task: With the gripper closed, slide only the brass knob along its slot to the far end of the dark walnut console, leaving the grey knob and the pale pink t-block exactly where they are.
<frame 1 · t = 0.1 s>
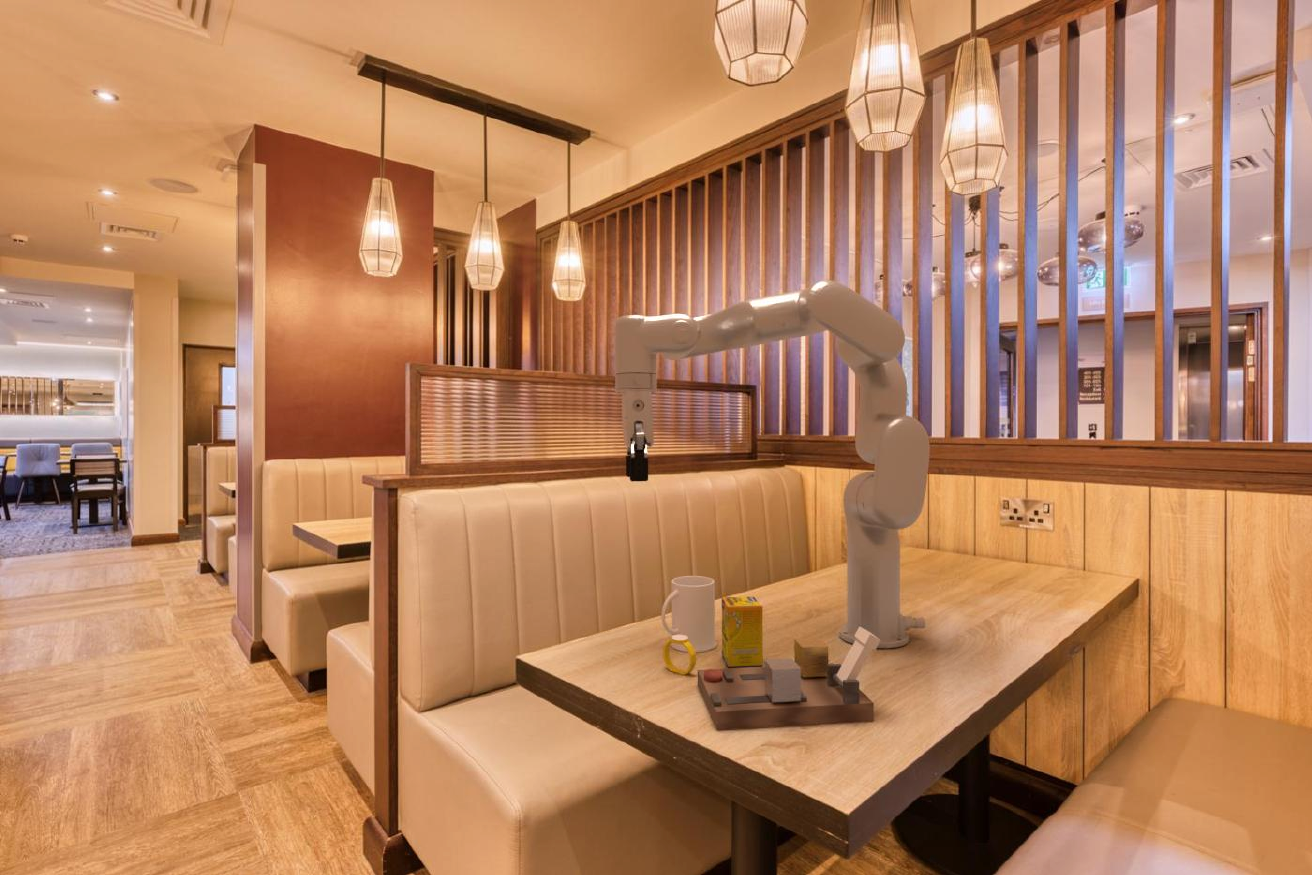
hand: (636, 478, 119), 31 cm above the table, fingers open, 9 cm apart
mug: (686, 647, 121), on the table
supplement box: (741, 665, 112), on the table
grey knob: (782, 679, 92), point 5 cm above the table, slide at 0.0 cm
console: (779, 702, 96), on the table
brass knob: (811, 657, 100), point 5 cm above the table, slide at 0.0 cm
watch: (679, 673, 108), on the table
pale pink t-block: (855, 659, 93), point 7 cm above the table, hinge at -30.0°
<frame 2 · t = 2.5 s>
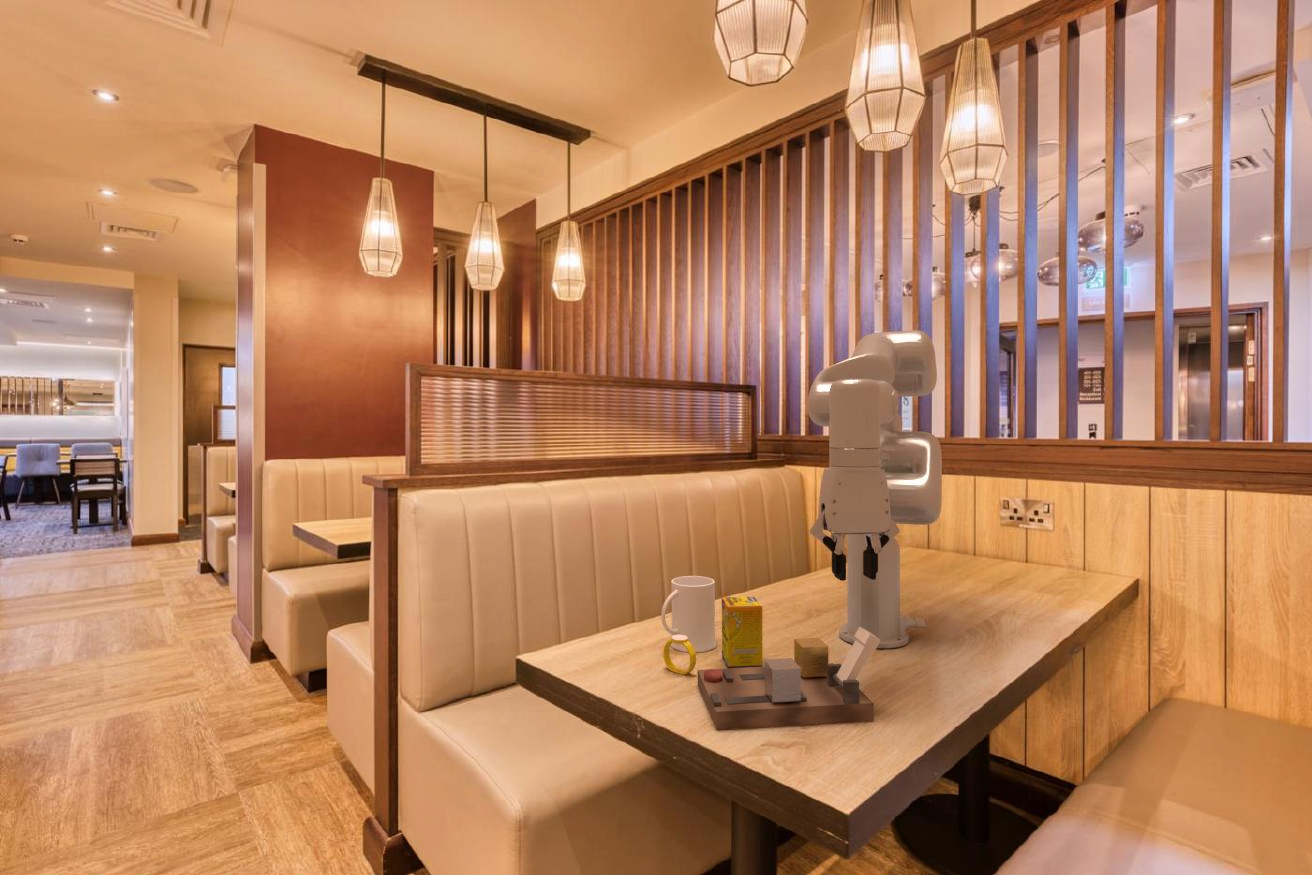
hand: (854, 576, 101), 17 cm above the table, fingers open, 4 cm apart
nothing on the table moved.
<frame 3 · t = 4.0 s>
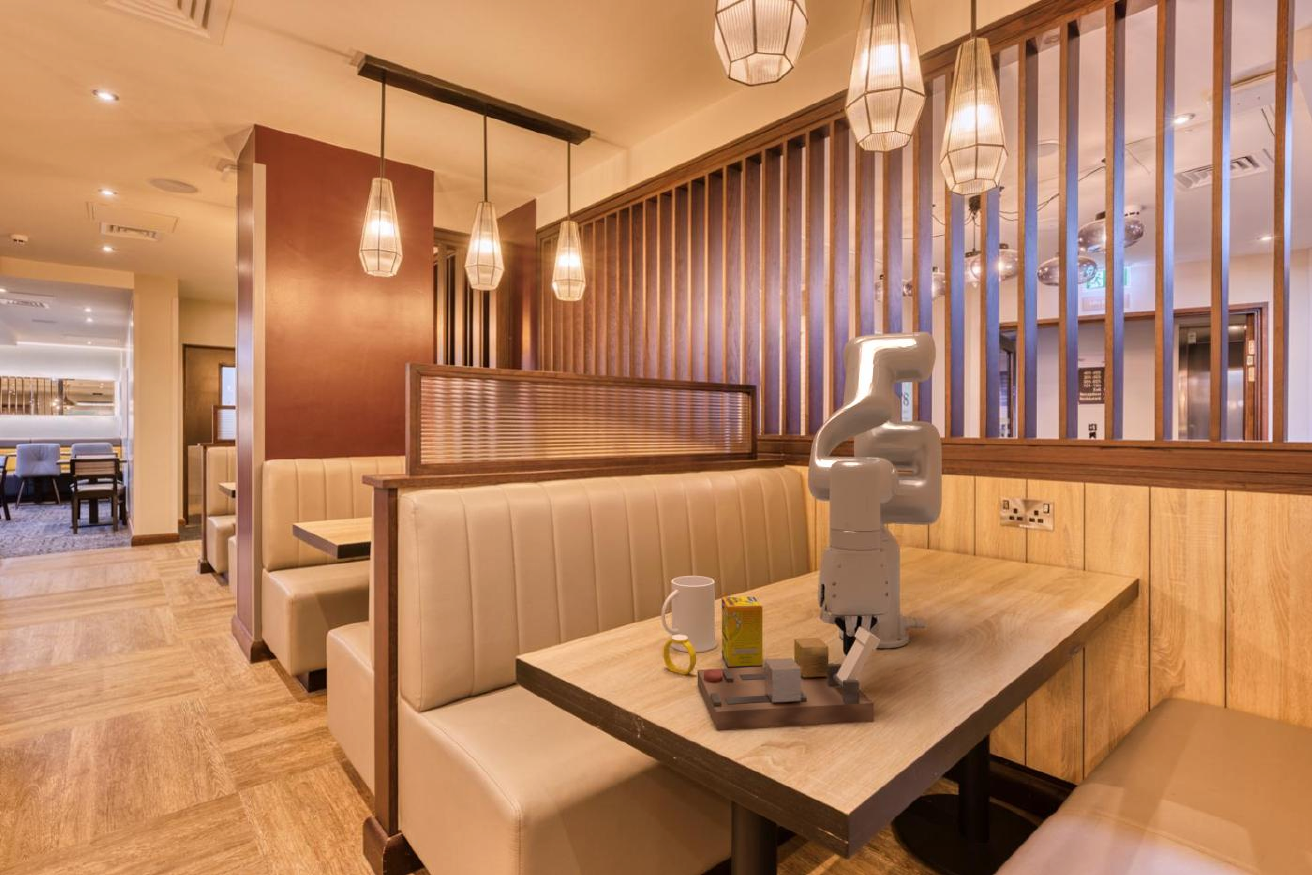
hand: (854, 659, 101), 5 cm above the table, fingers closed
nothing on the table moved.
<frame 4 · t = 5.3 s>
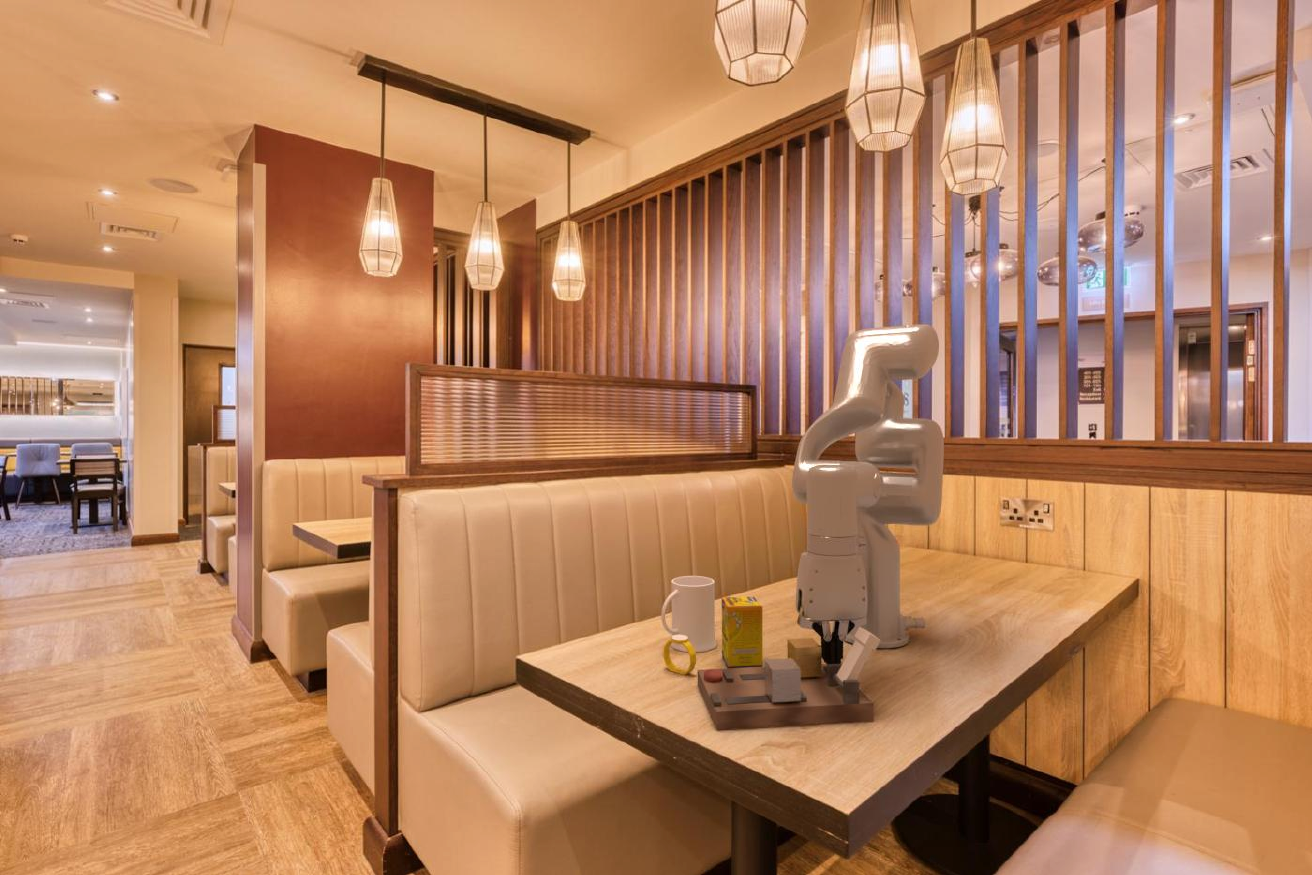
hand: (832, 663, 101), 4 cm above the table, fingers closed
brass knob: (804, 657, 100), point 5 cm above the table, slide at 1.1 cm, touching gripper
everything else where it was.
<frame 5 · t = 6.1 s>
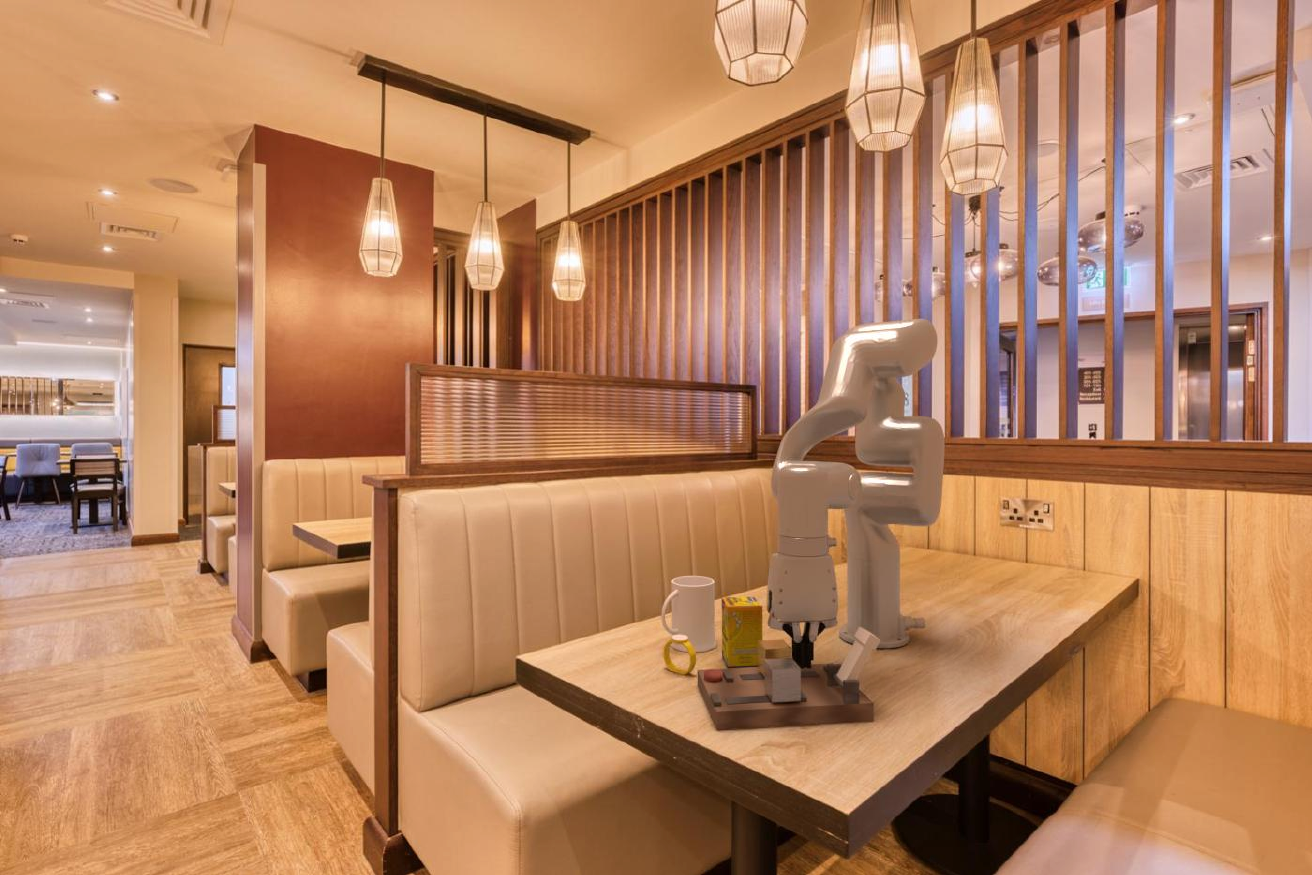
hand: (802, 665, 100), 4 cm above the table, fingers closed
brass knob: (774, 658, 100), point 5 cm above the table, slide at 5.8 cm, touching gripper
everything else where it was.
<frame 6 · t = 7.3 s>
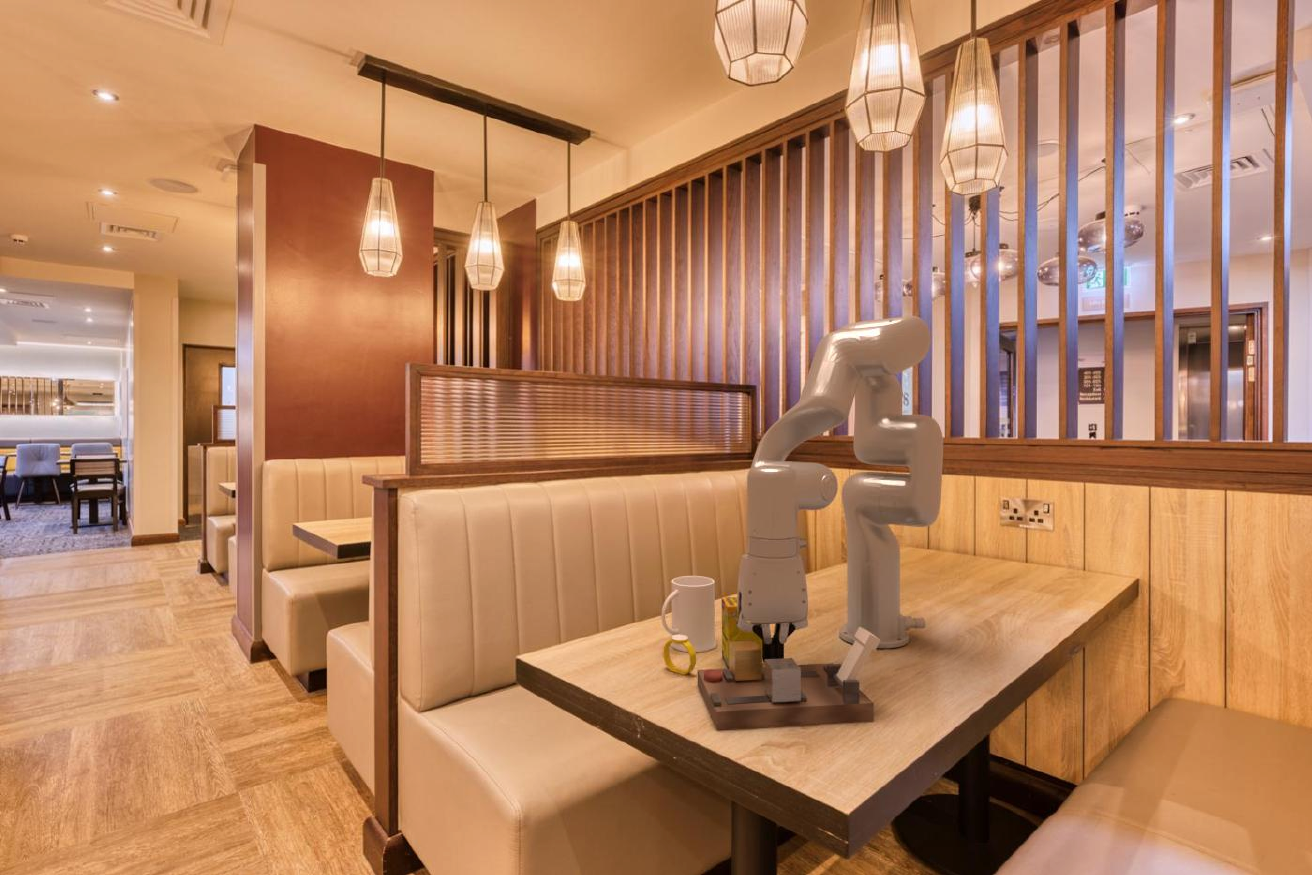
hand: (773, 666, 100), 4 cm above the table, fingers closed
brass knob: (745, 660, 99), point 5 cm above the table, slide at 10.3 cm, touching gripper
everything else where it was.
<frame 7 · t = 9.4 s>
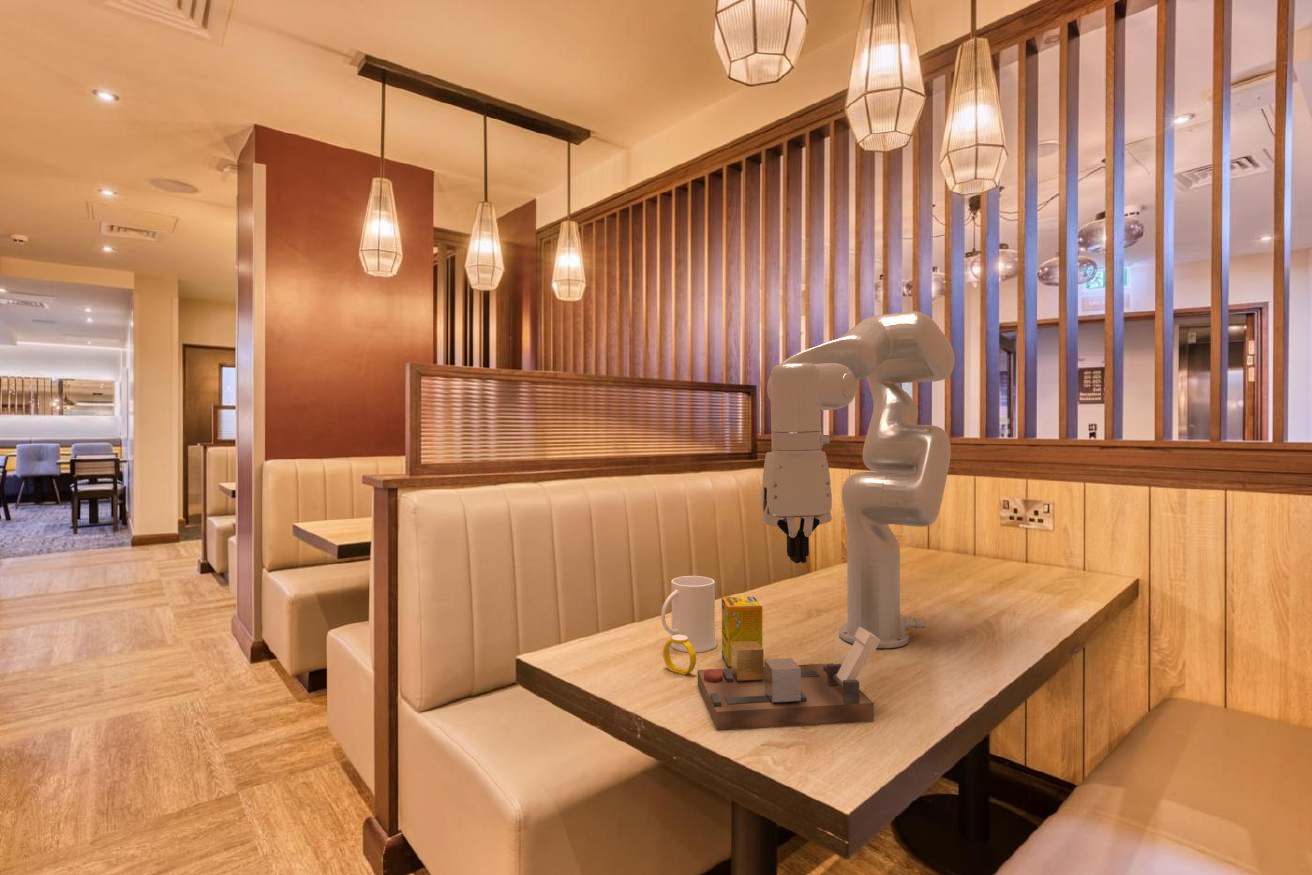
hand: (797, 560, 102), 20 cm above the table, fingers closed
brass knob: (747, 660, 99), point 5 cm above the table, slide at 10.0 cm
everything else where it was.
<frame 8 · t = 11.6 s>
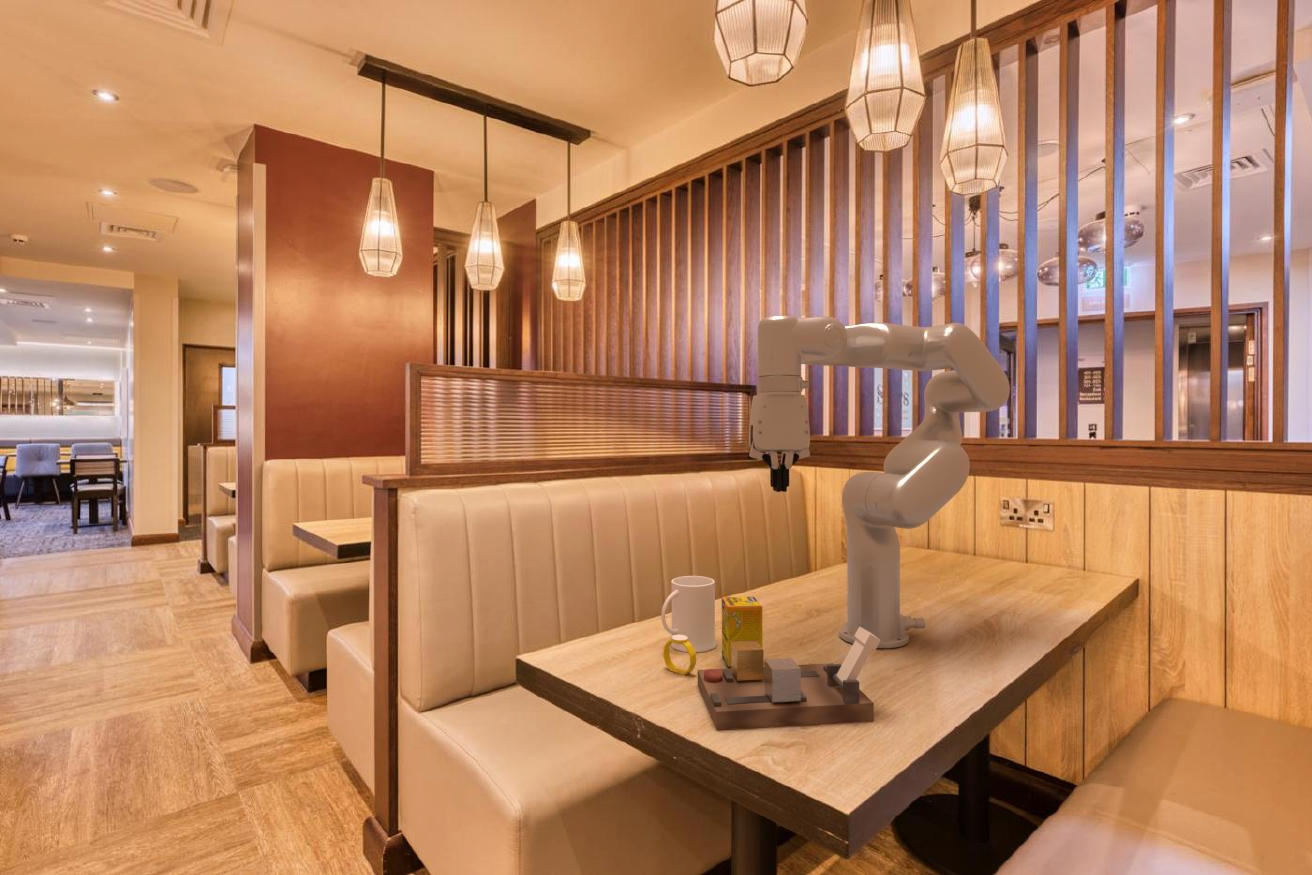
hand: (779, 490, 116), 29 cm above the table, fingers closed
nothing on the table moved.
at the end: brass knob slide at 10.0 cm; grey knob slide at 0.0 cm; pale pink t-block at -30° (first picture: -30°) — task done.
